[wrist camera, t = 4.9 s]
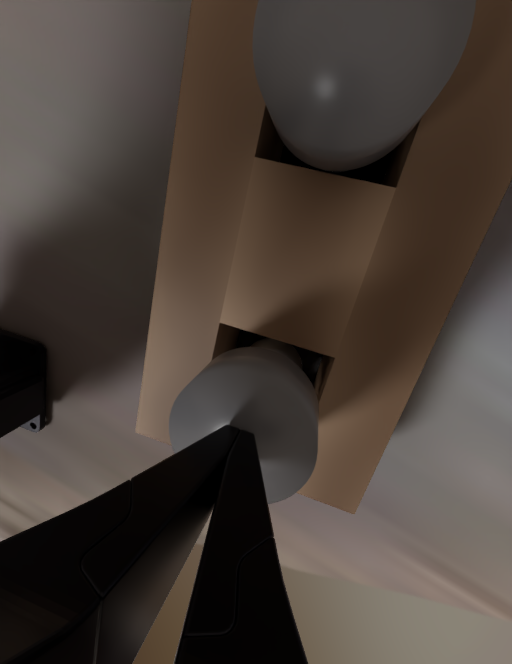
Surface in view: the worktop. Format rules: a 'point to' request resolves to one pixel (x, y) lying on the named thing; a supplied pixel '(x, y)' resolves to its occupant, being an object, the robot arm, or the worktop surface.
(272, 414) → the knob
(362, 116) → the knob
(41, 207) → the worktop surface
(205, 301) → the mount
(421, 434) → the worktop surface
